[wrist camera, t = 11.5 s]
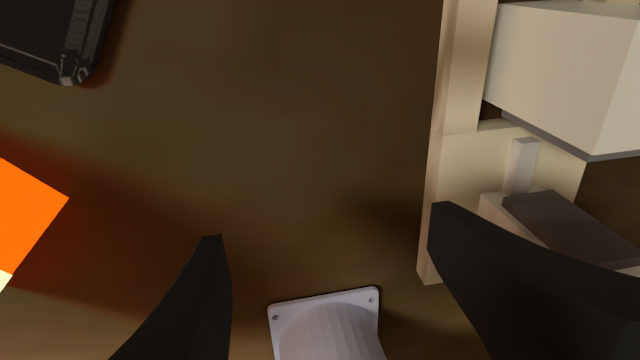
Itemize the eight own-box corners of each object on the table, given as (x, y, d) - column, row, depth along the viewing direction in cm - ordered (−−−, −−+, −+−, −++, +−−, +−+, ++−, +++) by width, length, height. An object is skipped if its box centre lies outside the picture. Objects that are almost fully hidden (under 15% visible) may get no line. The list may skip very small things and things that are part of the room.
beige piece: (539, 249, 29) (657, 357, 21) (416, 270, 28) (491, 396, 19) (632, -58, 19) (922, -81, 11) (448, -49, 18) (625, -67, 10)
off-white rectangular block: (540, 101, 23) (671, 157, 16) (479, 108, 22) (587, 168, 15) (566, -1, 20) (737, 13, 13) (497, 3, 20) (639, 20, 13)
